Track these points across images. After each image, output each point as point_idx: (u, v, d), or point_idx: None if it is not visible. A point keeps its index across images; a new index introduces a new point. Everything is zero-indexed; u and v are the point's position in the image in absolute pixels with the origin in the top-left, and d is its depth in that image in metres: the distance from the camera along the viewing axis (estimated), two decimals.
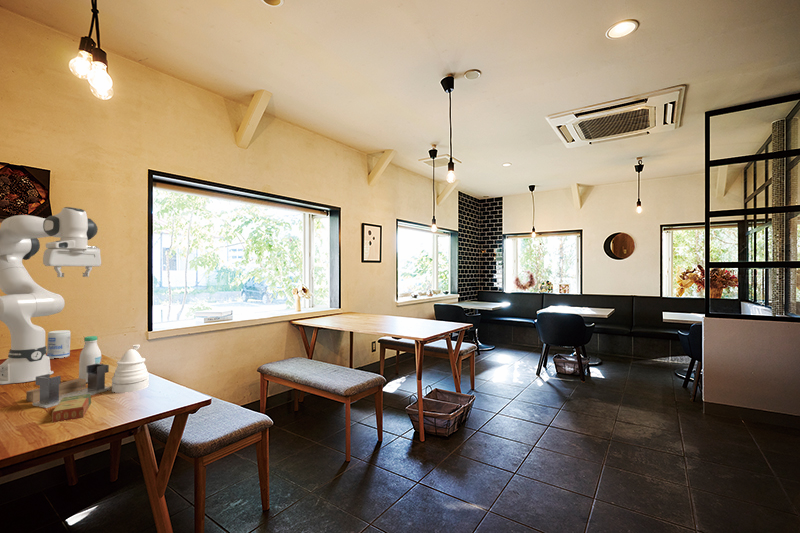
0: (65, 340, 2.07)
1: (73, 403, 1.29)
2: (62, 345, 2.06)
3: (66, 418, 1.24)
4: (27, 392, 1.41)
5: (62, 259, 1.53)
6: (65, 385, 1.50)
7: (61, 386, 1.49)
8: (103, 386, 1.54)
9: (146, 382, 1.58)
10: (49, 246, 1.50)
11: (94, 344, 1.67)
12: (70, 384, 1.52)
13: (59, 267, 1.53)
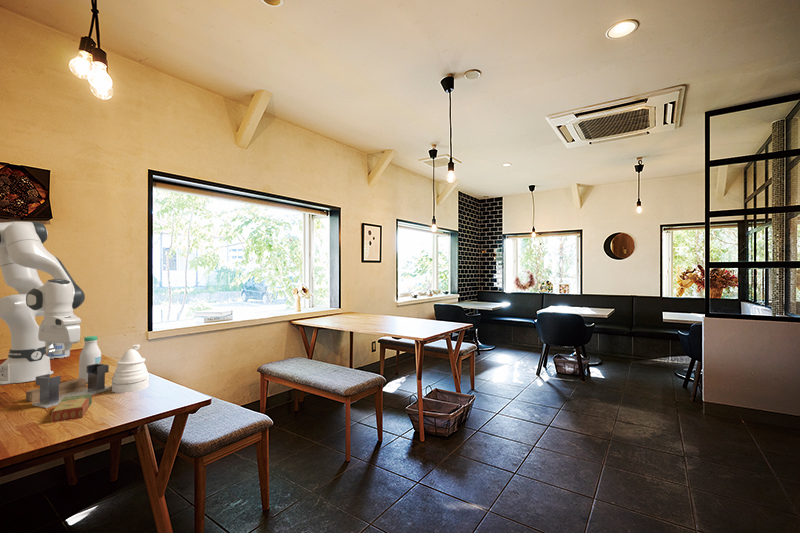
0: None
1: (73, 403, 1.29)
2: (62, 345, 2.06)
3: (65, 418, 1.24)
4: (27, 392, 1.41)
5: None
6: (65, 385, 1.50)
7: (61, 386, 1.49)
8: (103, 386, 1.54)
9: (146, 382, 1.58)
10: (72, 323, 1.46)
11: (94, 344, 1.67)
12: (70, 384, 1.52)
13: None
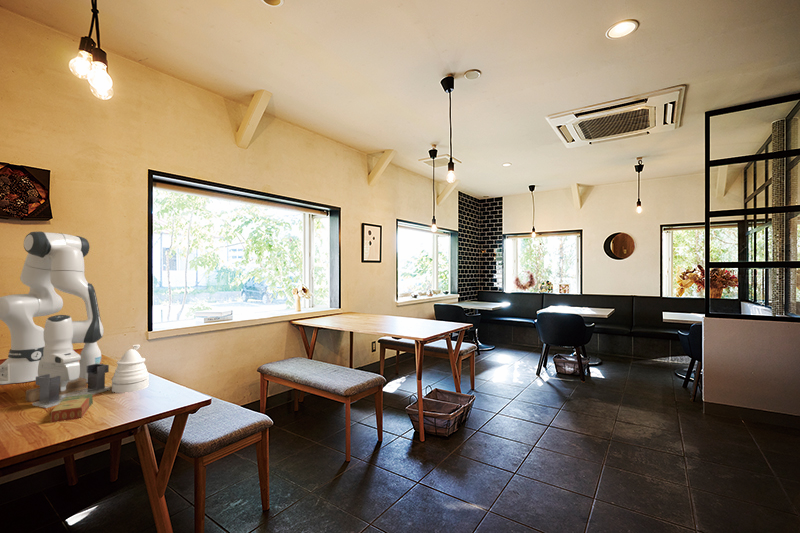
0: None
1: (73, 403, 1.29)
2: None
3: (64, 418, 1.24)
4: (26, 391, 1.41)
5: None
6: None
7: None
8: (103, 386, 1.54)
9: (146, 382, 1.58)
10: (71, 360, 1.46)
11: (94, 344, 1.67)
12: (70, 384, 1.52)
13: None
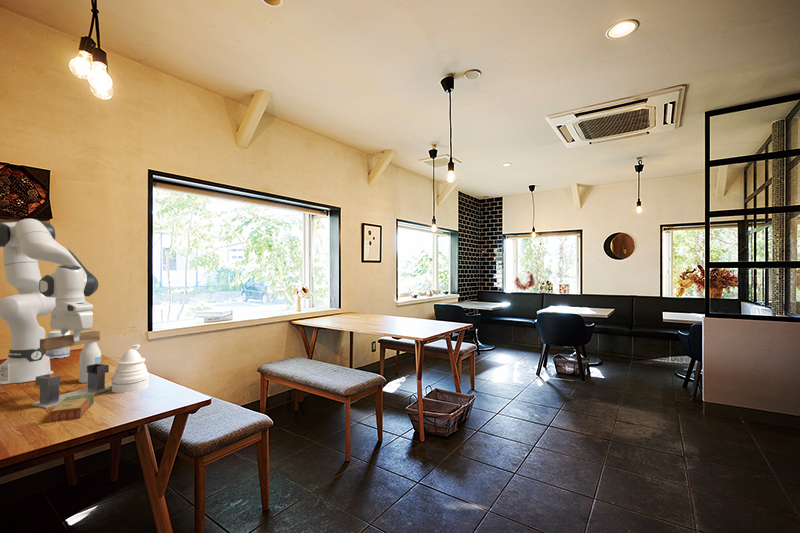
0: None
1: (72, 403, 1.29)
2: None
3: (63, 418, 1.24)
4: (40, 340, 1.38)
5: None
6: None
7: None
8: (103, 386, 1.54)
9: (146, 382, 1.58)
10: (84, 309, 1.43)
11: (94, 344, 1.67)
12: (83, 335, 1.49)
13: None
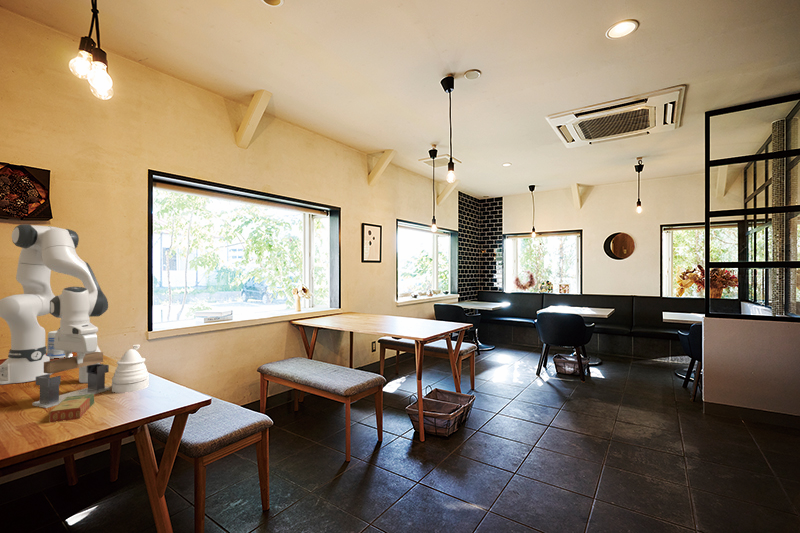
0: None
1: (72, 403, 1.29)
2: None
3: (63, 418, 1.24)
4: (44, 363, 1.38)
5: None
6: None
7: None
8: (103, 386, 1.54)
9: (146, 382, 1.58)
10: (89, 332, 1.43)
11: None
12: (87, 357, 1.49)
13: None
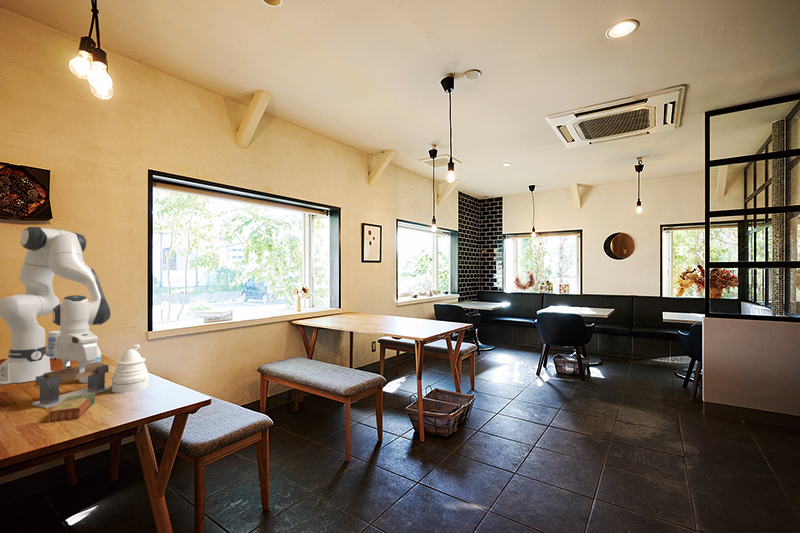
0: None
1: (72, 403, 1.29)
2: None
3: (62, 418, 1.24)
4: (44, 374, 1.38)
5: None
6: None
7: None
8: (103, 386, 1.54)
9: (146, 382, 1.58)
10: (88, 341, 1.43)
11: None
12: (87, 367, 1.49)
13: None
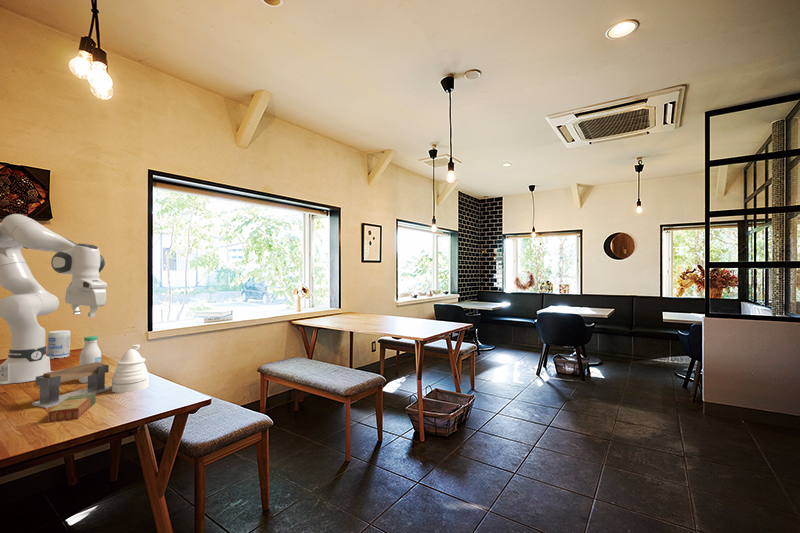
0: (65, 340, 2.07)
1: (72, 403, 1.29)
2: (62, 345, 2.06)
3: (61, 419, 1.24)
4: (44, 374, 1.38)
5: None
6: (82, 368, 1.47)
7: (78, 369, 1.46)
8: (103, 386, 1.54)
9: (146, 382, 1.58)
10: (98, 286, 1.50)
11: (94, 344, 1.67)
12: (87, 367, 1.49)
13: None
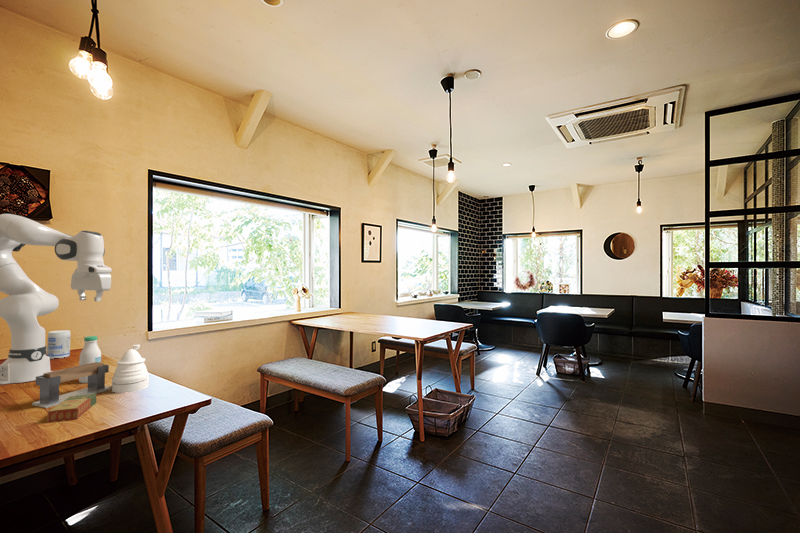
0: (65, 340, 2.07)
1: (72, 403, 1.29)
2: (63, 345, 2.06)
3: (61, 419, 1.24)
4: (44, 374, 1.38)
5: None
6: (82, 368, 1.47)
7: (78, 369, 1.46)
8: (103, 386, 1.54)
9: (146, 382, 1.58)
10: (103, 271, 1.55)
11: (94, 344, 1.67)
12: (87, 367, 1.49)
13: None
